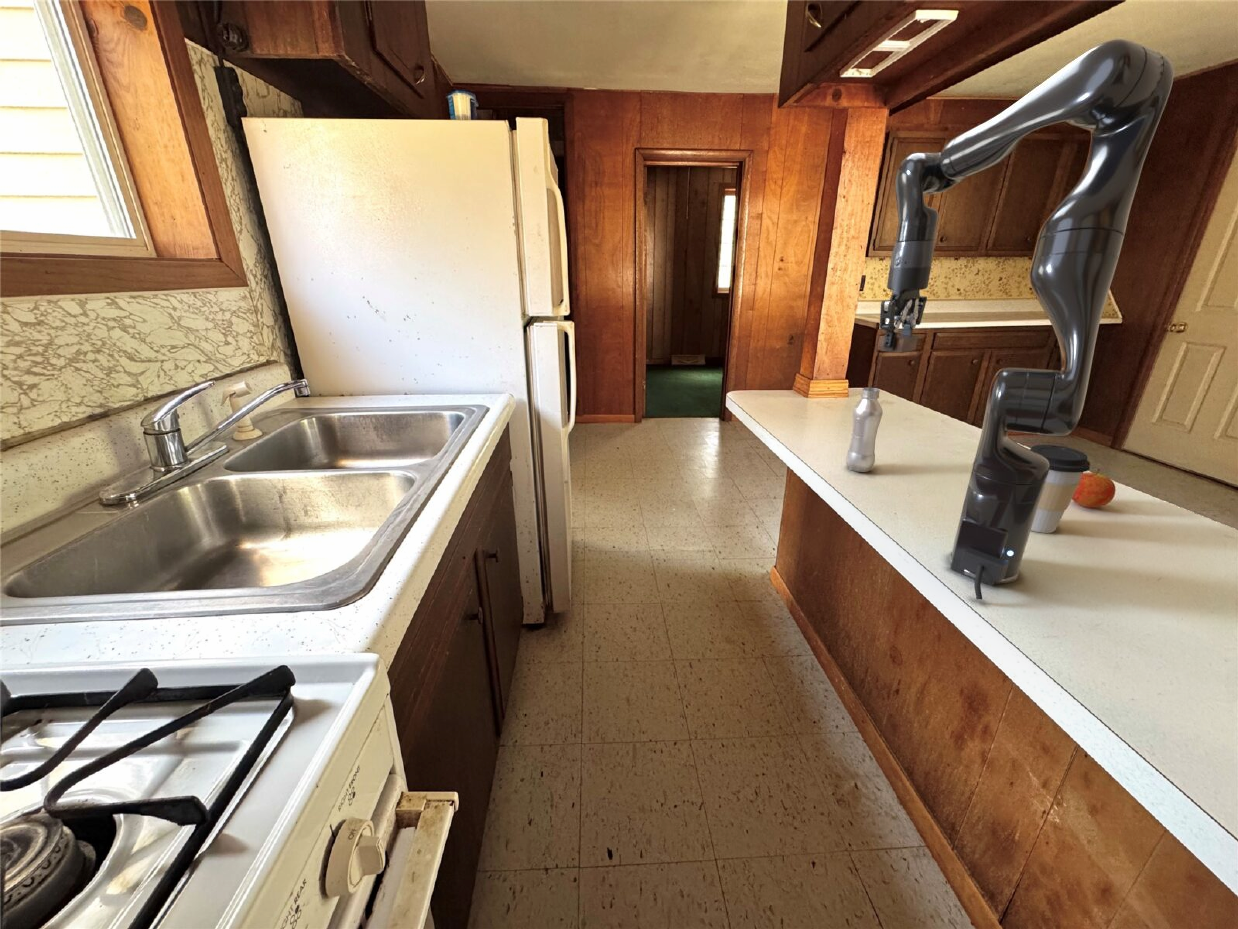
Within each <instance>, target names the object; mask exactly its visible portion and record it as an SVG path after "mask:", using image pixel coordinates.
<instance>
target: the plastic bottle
mask: <svg viewBox="0 0 1238 929" xmlns="http://www.w3.org/2000/svg"><path fill="white" fill-rule="evenodd" d="M861 390H862V391H861V394H860V398H861V399H860V400H859V401H858V402H857V403H856V404H855V405H854V407H853V409H852V429H851V431H852V432H851V438H850V443H849V447H848V450H847V453H846V456H845V465H846V467H847V469H849V470H850V471H854V472H859V473H867V472H870V471H871V470H872V469H873V467H874V465H875V463H876V452H875V451H876V440H877V434H878V429H879V427H880V423H881V420H882V417H883V408H882V406H881V403H880V402H879V400H878V399H879V398H880V389H879V388H877V387H863V388H862V389H861Z"/></svg>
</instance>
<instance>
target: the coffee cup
mask: <svg viewBox="0 0 1238 929" xmlns="http://www.w3.org/2000/svg"><path fill="white" fill-rule="evenodd" d="M1029 449H1030V450H1032V451H1034V452H1036V453H1038V454H1040V455H1042V456H1043V457H1045V458H1046V459H1047V460H1048V461H1049V464H1050V469H1049V473H1048V476H1047V479H1046V483H1045V486H1044V489H1043V492H1042V496H1041V498H1040V502H1039V505H1038V508H1037V512H1036V515H1035V518H1034V521H1033V525H1032V528H1031V531H1032V532H1035V533H1042V534H1052V533H1054V532H1055V531H1056V530H1057V528H1058V526H1059V524H1060V521H1061V519H1062V517H1063V516H1064V513H1065V512H1066V510H1067V509H1068V507H1070V504H1071V502H1072V497H1073V495H1074V493H1075V491H1076V489H1077V487H1078V485H1079V483H1080V481H1079V480H1080V478H1081V476H1082V474H1083V473H1086V472H1088V471H1090V469H1091V467H1090V466H1091V463H1090V461H1089V460H1088V455H1087V454H1086V453H1085V452H1083V451H1081V450H1078V449H1075V448H1072V447H1067V446H1062V445H1055V444H1036V445H1035V444H1034V445H1032V446H1031V447H1030V448H1029Z"/></svg>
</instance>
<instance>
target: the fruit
mask: <svg viewBox="0 0 1238 929" xmlns="http://www.w3.org/2000/svg"><path fill="white" fill-rule="evenodd" d="M1100 471H1101V469H1100V468H1097V470H1096V472H1083V474H1082V476H1081V478H1080V480H1079V481H1080V483H1079V485H1078V487H1077V489H1076V491H1075V493H1074V495H1073V497H1072V499H1071V501H1073V502H1074V503H1075V504H1077V505H1078V506H1081V507H1084V508H1085V509H1086V508H1087V509H1091V508H1100V507H1103V506H1106V505H1107V504H1109V503H1111V501H1113V499H1114V498H1115V495H1116V485H1115V483H1114V481H1113V480H1112V479H1111V478H1109V477H1108V476H1106V475H1104V474H1103V473H1101V472H1100ZM1099 472H1100V473H1099Z"/></svg>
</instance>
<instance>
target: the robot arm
mask: <svg viewBox="0 0 1238 929" xmlns="http://www.w3.org/2000/svg"><path fill="white" fill-rule="evenodd" d="M1174 77H1175V69H1174V65H1173V62H1172V61H1171V60H1170V58H1168V57H1167V56H1166V55H1164V54H1163V53H1161V52H1160V51H1159V52H1158V51H1156V50H1154V49H1153V48H1150V47H1147V46H1145V45H1142V44H1140V43H1138V42H1134V41H1131V40H1129V39H1124V38H1123V39H1122V38H1116V39H1110V40H1107V41H1104V42H1102V43H1099V44H1098V45H1096V46H1094V47H1092V48H1091V49H1089V50H1088V51H1086V52H1084V53H1083V54H1081V55H1080V56H1078V57H1077V58H1075V59H1074V60H1072V61H1070V62H1069V63H1068V64H1066V65H1065V66H1064V67H1063V68H1061V69H1059V70H1058V71H1057V72H1056V73H1054V74H1053V75H1052V76H1050V77H1049V78H1047V79H1046V80H1045V81H1043V82H1042V83H1040V84H1039V85H1038V86H1036V87H1035V88H1033V89H1032V90H1031V91H1029V92H1028V93H1026V94H1025V95H1024V96H1022V97H1020V99H1018V100H1017V101H1016V102H1015V103H1013V104H1012V105H1010V106H1009V107H1008V108H1005V109H1004V110H1002V111H1001V112H1000V113H998V114H997V115H995V116H993V117H991V118H990V119H988V120H986V121H985V122H983V123H980V124H978V125H976V126H975V127H973V128H971V129H968V130H967V131H966V132H963V133H961V134H959V135H958V136H956V137H954V138H953V139H951V140H950V141H949V142H948V143H946V145H944V147H943V149H942V150H941V152H915V153H911V154H908V155H907V156H906V157H905V158H904V159H903V160H902V161H901V163H900V164H899V166H898V168H897V170H896V173H895V178H894V194H895V202H896V210H897V219H898V222H897V228H896V234H895V240H894V241H895V242H894V246H893V249H892V253H891V258H890V263H889V264H890V265H889V269H888V270H889V271H888V278H887V284H886V289H888V290H889V291H892V293H891V296H890V298H889V300H882V301H881V302H880V313H879V316H880V317H879V329H880V330H883V331H884V332H885V334H884V335H885V341H884V347H883V348H884V349H885V350H894V349H895V345H896V339H897V334H899V332H898V331H899V329H900V334H904V335H913V333H914V329H916V327H917V326H920V325H921V323H922V319H923V316H924V312H925V308H926V305H927V300H928V297H927V296H925V295H924V296H923V295H921V294H920V292H921V290H922V291H923V290H927V288H928V287H929V282H930V276H931V272H932V271H931V270H932V266H933V265H932V264H933V259H934V253H935V239H936V234H937V229H938V223H939V216H940V215H939V211H938V209H936V208H934V207H931V206H928V205H926V202H925V197H924V195H936V194H941V193H943V192H946V191H948V190H951V189H952V188H953V187H955V186H956V185H958V184H959V183H961V182H962V181H963V180H964V179H966V178H968V177H971V176H973V175H975V174H978V173H979V172H980V173H981V172H982V171H984V170H987V169H989V168H992V167H993V166H995V165H997V164H999V163H1001V162H1002V161H1004V160H1006V159H1007V157H1008V156H1010V155H1011V154H1012V153H1013V152H1014V151H1015V150H1016V149H1017V147H1019V145H1020V144H1021V142H1022V141H1023V140H1024V139H1025V138H1026V137H1027V136H1028V135H1029V134H1031V133H1032V132H1035V131H1036V130H1039V129H1042V128H1045V127H1047V126H1051V125H1055V124H1058V123H1062V122H1066V123H1068V124H1070V125H1072V126H1075V127H1078V128H1081V129H1083V130H1086V131H1089V132H1090V144H1089V150H1088V154H1087V158H1086V162H1085V164H1084V168H1083V171H1082V172H1081V175H1080V177H1079V179H1078V181H1077V183H1076V184H1074V186H1073V187H1072V189H1071V190H1070V191H1069V192H1068V193H1067V194H1066V195H1065V196H1064V197H1063V199H1062V200H1061V201H1060V202H1059V204H1057V205H1056V207H1054V209H1053V210H1052V212H1051V213H1050V214H1049V215H1048V217H1047V218H1046V219H1045V221H1044V223H1043V224H1042V226H1041V228H1040V230H1039V233H1038V236H1037V239H1036V244H1035V247H1034V252H1033V256H1032V260H1031V264H1030V269H1029V276H1028V277H1029V283H1030V287H1031V289H1032V291H1033V293H1034V295H1035V297H1036V300H1037V301H1038V304H1040V307H1041V308H1042V310H1043V312H1044V313H1045V315H1046V316H1047V318H1048V320H1049V322H1050V325H1051V326H1052V328H1053V331H1054V333H1055V336H1056V339H1057V342H1058V346H1059V353H1060V370H1059V369H1055V370H1054V369H1046V368H1033V367H1031V368H1030V367H1028V368H1027V367H1017V366H1016V367H1015V366H1014V367H1013V366H1008V367H1007V366H1006V367H1002V368H1001V369H999V370H998V371H997V372H996V373H995V374H994V376H993V378H992V380H991V383H990V386H989V389H988V393H987V399H986V404H985V410H984V415H983V421H982V426H981V427H982V428H981V434H980V438H979V442H978V445H977V449H976V453H975V457H974V461H973V464H972V469H971V474H970V477H969V481H968V484H967V489H966V492H965V496H964V501H963V505H962V509H961V512H960V517H959V521H958V525H957V529H956V532H955V536H954V542H953V546H952V550H951V552H950V555H949V559H948V560H949V563H950V567H949V569H950V570H951V571H955V572H957V573H959V574H961V575H964V576H966V577H969V578H972V579H974V593H975V599H976V600H981V601H982V600H983V595H982V594H983V593H982V585H981V584H982V583H984V584H986V585H988V586H993V585H995V584H1009V583H1013V582H1014V581H1016V580H1017V579H1018V576H1019V573H1020V567H1021V564H1022V561H1023V557H1024V555H1025V550H1026V548H1027V545H1028V541H1029V538H1030V534H1031V531H1032V530H1031V528H1032V525H1033V521H1034V518H1035V515H1036V512H1037V508H1038V505H1039V502H1040V498H1041V496H1042V492H1043V489H1044V486H1045V483H1046V479H1047V476H1048V473H1049V469H1050V464H1049V461H1048V460H1047V459H1046V458H1045V457H1043V456H1042V455H1040V454H1038V453H1036V452H1034V451H1032V450H1030V449H1031V448H1027V447H1025V446H1023V445H1021V444H1020V443H1018V442H1016V440H1014V439H1012V438H1011V437H1010V436H1009V435H1008V432H1017V433H1026V434H1033V435H1041V436H1050V437H1066V436H1068V435H1070V434H1071V433H1072V432H1073V431H1074V430H1075V428H1076V427H1077V425H1078V423H1079V421H1080V419H1081V416H1082V412H1083V409H1084V406H1085V401H1086V396H1087V392H1088V387H1089V382H1090V376H1091V369H1092V364H1093V358H1094V354H1095V347H1096V342H1097V338H1098V333H1099V329H1100V328H1099V327H1100V324H1101V319H1102V316H1103V313H1104V310H1105V306H1106V302H1107V298H1108V295H1109V292H1110V287H1111V285H1112V282H1113V279H1114V275H1115V272H1116V269H1117V265H1118V261H1119V258H1120V256H1121V255H1120V254H1121V251H1122V248H1123V243H1124V239H1125V234H1126V231H1127V230H1126V229H1127V224H1128V220H1129V216H1130V212H1131V208H1132V204H1133V201H1134V198H1135V194H1136V191H1137V187H1138V184H1139V180H1140V178H1141V174H1142V170H1143V166H1144V163H1145V160H1146V158H1147V155H1148V152H1149V149H1150V146H1151V143H1152V141H1153V138H1154V136H1155V134H1156V132H1157V128H1158V126H1159V123H1160V121H1161V118H1162V115H1163V112H1164V111H1165V108H1166V105H1167V102H1168V99H1169V97H1170V94H1171V90H1172V87H1173V82H1174ZM900 326H901V328H900Z"/></svg>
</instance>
